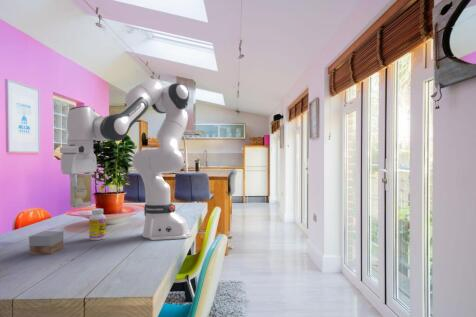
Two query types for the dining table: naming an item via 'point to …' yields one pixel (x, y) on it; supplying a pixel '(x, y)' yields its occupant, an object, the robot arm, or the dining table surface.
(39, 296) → the dining table surface
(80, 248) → the dining table surface
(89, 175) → the skincare box
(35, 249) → the tower base
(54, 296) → the dining table surface
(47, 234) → the tower top
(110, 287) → the dining table surface
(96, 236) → the supplement bottle
